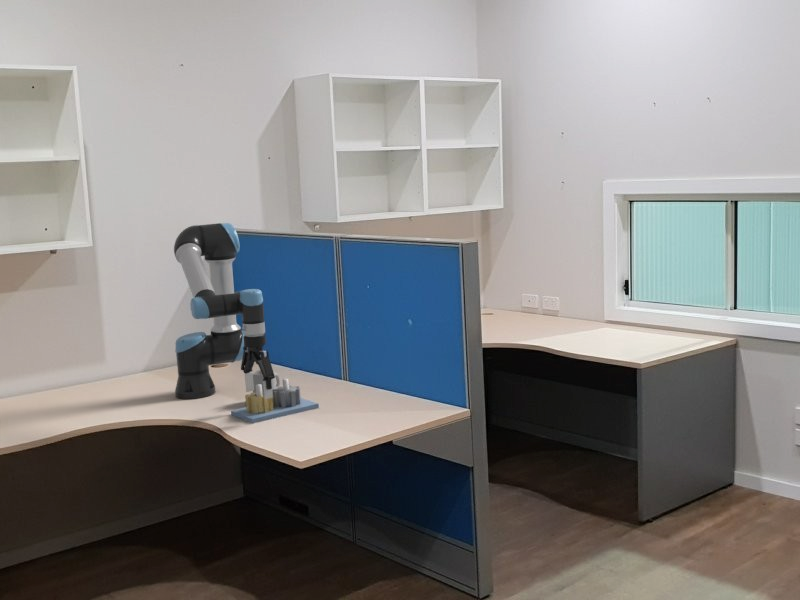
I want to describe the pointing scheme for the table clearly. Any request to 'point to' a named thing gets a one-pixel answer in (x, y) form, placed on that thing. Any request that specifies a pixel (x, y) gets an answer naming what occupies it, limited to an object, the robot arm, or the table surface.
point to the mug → (259, 380)
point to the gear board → (278, 404)
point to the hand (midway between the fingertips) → (259, 394)
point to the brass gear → (258, 403)
